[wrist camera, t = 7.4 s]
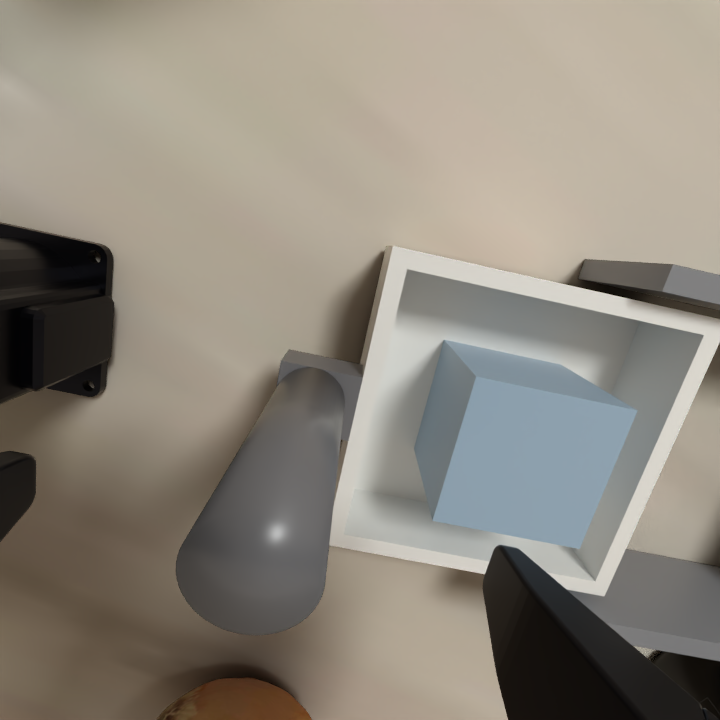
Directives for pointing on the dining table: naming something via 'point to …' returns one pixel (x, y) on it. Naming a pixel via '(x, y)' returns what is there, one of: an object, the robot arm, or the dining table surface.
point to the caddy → (400, 430)
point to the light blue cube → (517, 445)
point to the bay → (648, 571)
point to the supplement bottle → (694, 677)
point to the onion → (236, 702)
